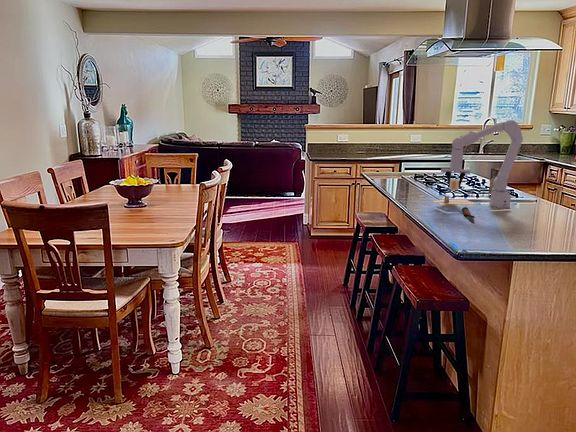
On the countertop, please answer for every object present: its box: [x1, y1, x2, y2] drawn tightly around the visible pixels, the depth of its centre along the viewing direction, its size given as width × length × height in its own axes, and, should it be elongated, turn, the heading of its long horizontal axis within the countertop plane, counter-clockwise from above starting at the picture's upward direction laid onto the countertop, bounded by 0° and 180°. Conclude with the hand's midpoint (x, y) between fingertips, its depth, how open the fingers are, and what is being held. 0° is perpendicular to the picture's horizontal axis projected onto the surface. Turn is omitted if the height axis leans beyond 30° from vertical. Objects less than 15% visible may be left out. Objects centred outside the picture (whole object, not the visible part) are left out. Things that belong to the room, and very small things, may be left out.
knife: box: [461, 206, 476, 224], centre depth 209 cm, size 25×3×5 cm
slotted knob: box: [448, 178, 460, 191], centre depth 238 cm, size 6×4×5 cm
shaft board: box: [429, 195, 478, 207], centre depth 240 cm, size 16×20×4 cm
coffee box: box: [488, 167, 501, 194], centre depth 259 cm, size 9×6×16 cm
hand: (454, 186), depth 239 cm, fingers closed on slotted knob, 4 cm apart
